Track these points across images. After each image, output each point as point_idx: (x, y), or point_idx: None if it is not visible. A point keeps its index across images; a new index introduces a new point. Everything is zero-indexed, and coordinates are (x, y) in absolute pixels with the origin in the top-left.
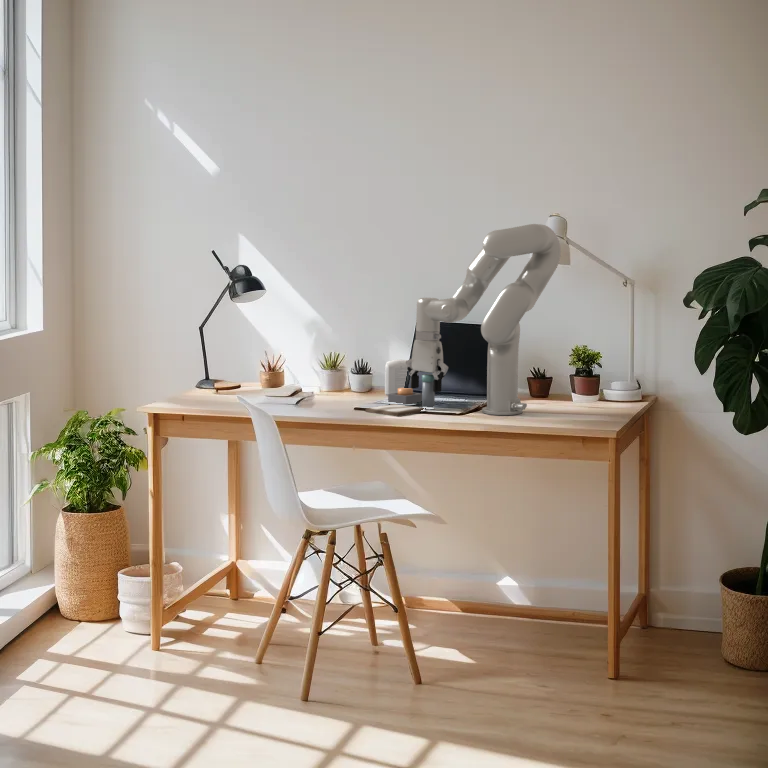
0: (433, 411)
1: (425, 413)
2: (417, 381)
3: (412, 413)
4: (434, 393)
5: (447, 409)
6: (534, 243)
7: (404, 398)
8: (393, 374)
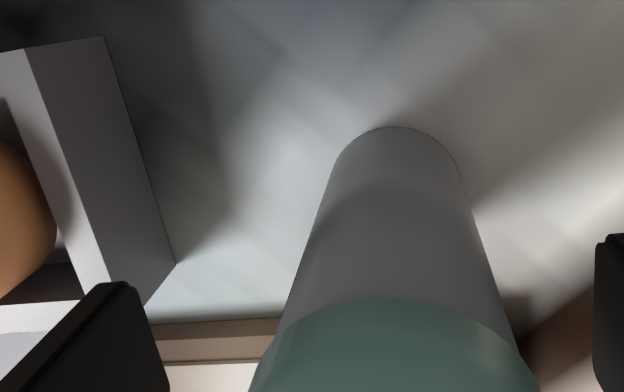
0: (548, 251)
1: (572, 367)
2: (94, 375)
3: None
4: (471, 226)
5: (574, 50)
6: None
7: None
8: None
